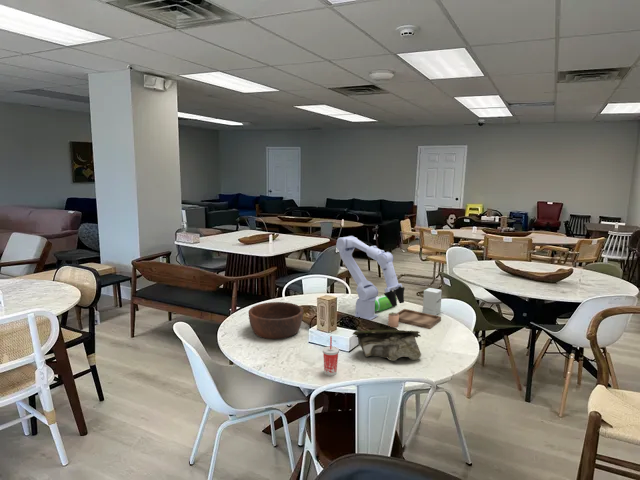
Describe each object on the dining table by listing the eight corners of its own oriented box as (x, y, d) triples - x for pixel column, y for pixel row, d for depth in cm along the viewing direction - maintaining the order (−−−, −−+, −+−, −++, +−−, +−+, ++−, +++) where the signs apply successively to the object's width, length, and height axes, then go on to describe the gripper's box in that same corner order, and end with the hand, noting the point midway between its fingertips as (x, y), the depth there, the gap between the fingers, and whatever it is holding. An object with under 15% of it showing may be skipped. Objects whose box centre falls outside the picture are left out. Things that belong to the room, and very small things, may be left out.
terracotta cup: (386, 325, 202) (386, 314, 201) (390, 322, 206) (391, 312, 205) (395, 328, 199) (396, 317, 198) (400, 325, 203) (400, 314, 202)
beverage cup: (337, 377, 151) (338, 340, 148) (320, 375, 152) (321, 339, 149) (339, 369, 157) (340, 334, 154) (323, 367, 158) (324, 332, 155)
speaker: (376, 314, 218) (377, 300, 217) (366, 310, 223) (366, 297, 222) (397, 307, 230) (397, 294, 229) (386, 304, 235) (387, 291, 234)
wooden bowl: (312, 326, 199) (312, 306, 198) (286, 346, 177) (286, 323, 175) (267, 318, 210) (267, 299, 208) (237, 336, 187) (237, 314, 186)
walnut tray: (391, 320, 209) (391, 316, 209) (404, 312, 221) (404, 308, 221) (429, 329, 198) (429, 325, 197) (440, 320, 210) (441, 316, 209)
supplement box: (435, 316, 216) (436, 292, 214) (422, 313, 220) (423, 290, 218) (440, 312, 221) (442, 289, 219) (427, 309, 226) (428, 287, 224)
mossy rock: (352, 367, 169) (352, 352, 157) (352, 337, 177) (352, 321, 165) (422, 367, 167) (428, 353, 155) (419, 337, 175) (424, 321, 163)
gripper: (390, 277, 193) (399, 305, 191) (404, 273, 205) (412, 300, 203) (377, 280, 197) (385, 308, 196) (391, 276, 209) (399, 302, 207)
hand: (398, 304), depth 200 cm, fingers open, 7 cm apart
